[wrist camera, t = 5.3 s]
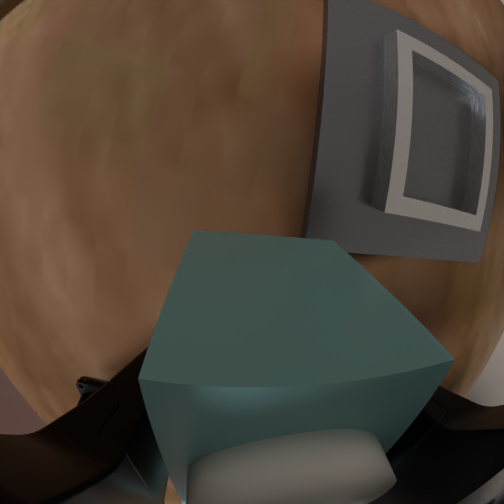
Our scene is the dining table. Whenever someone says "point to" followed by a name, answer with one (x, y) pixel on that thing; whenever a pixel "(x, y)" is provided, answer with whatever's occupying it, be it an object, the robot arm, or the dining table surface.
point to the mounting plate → (401, 139)
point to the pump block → (283, 373)
